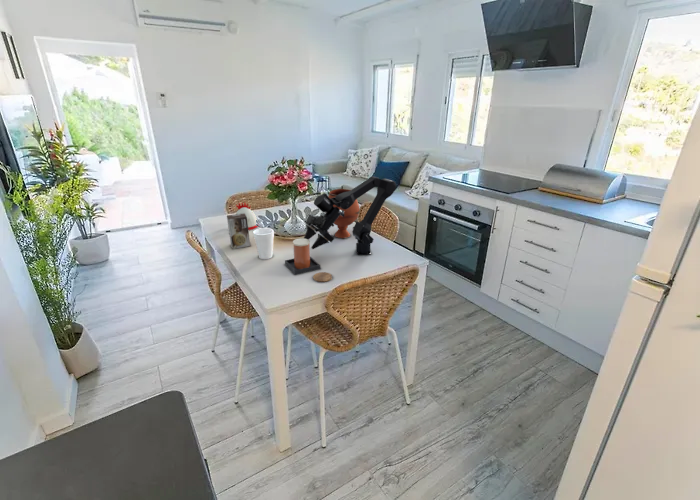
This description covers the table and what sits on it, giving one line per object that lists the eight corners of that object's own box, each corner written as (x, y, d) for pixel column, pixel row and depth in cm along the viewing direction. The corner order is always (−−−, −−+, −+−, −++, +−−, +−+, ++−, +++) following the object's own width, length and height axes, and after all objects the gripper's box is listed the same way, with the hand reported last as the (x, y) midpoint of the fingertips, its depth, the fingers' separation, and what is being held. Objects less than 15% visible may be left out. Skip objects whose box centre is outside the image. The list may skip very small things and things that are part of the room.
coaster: (331, 273, 154) (331, 271, 153) (332, 281, 146) (332, 280, 146) (313, 273, 153) (313, 272, 153) (313, 282, 145) (313, 281, 145)
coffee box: (248, 242, 185) (245, 212, 178) (250, 246, 180) (247, 216, 173) (230, 244, 181) (226, 215, 175) (232, 249, 176) (228, 218, 169)
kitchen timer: (234, 223, 212) (231, 199, 206) (258, 221, 215) (255, 198, 209) (233, 231, 199) (230, 205, 193) (258, 229, 202) (255, 204, 196)
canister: (310, 261, 163) (309, 238, 158) (310, 269, 156) (309, 244, 151) (294, 262, 162) (293, 238, 157) (293, 269, 155) (292, 244, 150)
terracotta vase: (331, 228, 206) (331, 186, 197) (362, 231, 202) (364, 189, 192) (320, 239, 190) (319, 194, 180) (354, 243, 185) (355, 197, 175)
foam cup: (265, 262, 163) (263, 236, 157) (251, 257, 167) (248, 232, 162) (279, 255, 170) (277, 230, 165) (265, 251, 174) (263, 226, 169)
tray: (309, 258, 167) (309, 255, 166) (320, 268, 157) (320, 265, 156) (284, 264, 161) (284, 260, 160) (294, 274, 152) (294, 271, 151)
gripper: (309, 202, 160) (287, 228, 159) (327, 213, 145) (303, 242, 144) (324, 216, 167) (303, 241, 166) (343, 228, 152) (321, 256, 151)
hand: (307, 245), depth 157 cm, fingers open, 9 cm apart
